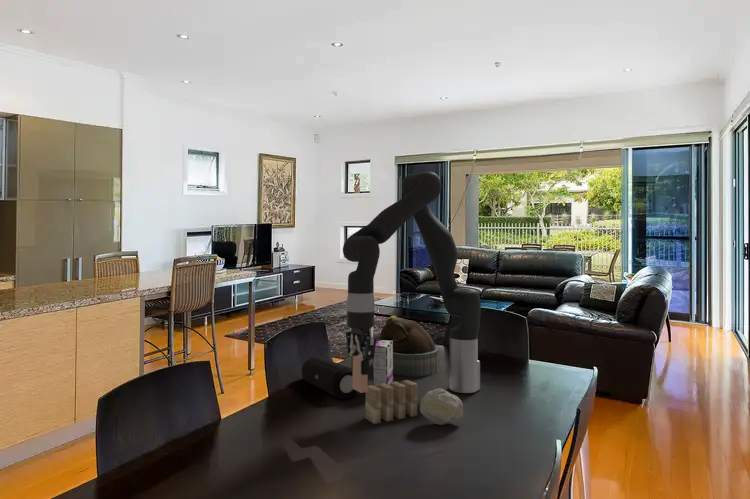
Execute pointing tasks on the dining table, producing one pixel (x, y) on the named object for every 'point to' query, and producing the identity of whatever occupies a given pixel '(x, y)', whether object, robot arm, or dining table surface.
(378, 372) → the candy bar box
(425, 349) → the elephant in basket
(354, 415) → the dining table surface
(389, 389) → the tile
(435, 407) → the fossil replica
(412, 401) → the tile
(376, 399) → the tile
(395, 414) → the tile
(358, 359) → the tile
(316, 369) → the portable speaker
